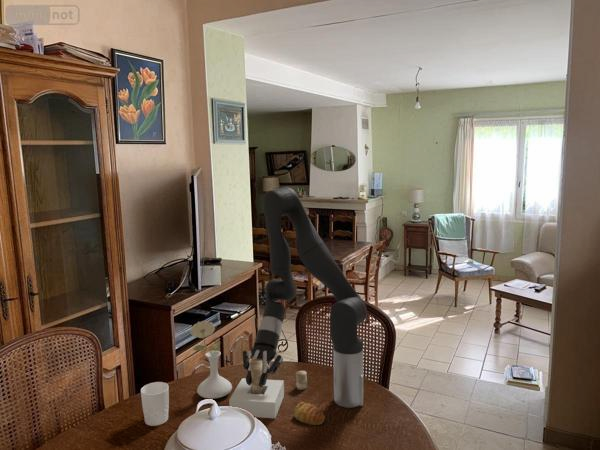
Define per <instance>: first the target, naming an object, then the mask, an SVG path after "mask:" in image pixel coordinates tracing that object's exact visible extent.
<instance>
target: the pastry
mask: <svg viewBox="0 0 600 450" xmlns="http://www.w3.org/2000/svg"><path fill="white" fill-rule="evenodd" d="M293 416H294V418H295V419H296V420H297V421H299V422H301V423H302V424H303V423H304V424H306V425H307V424H308V425H311V426H320V425H322V424H323V423H324V422H325V420H326V416H325V414H324V413H323V411H322V410H321V409H320V408H318V407H317V406H316V405H315V404H311V403H310V402H308V403H306V402H305V401H300V402H299V403H297V405H296V406H295V407H294V411H293Z"/></svg>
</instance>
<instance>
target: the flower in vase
mask: <svg viewBox="0 0 600 450" xmlns="http://www.w3.org/2000/svg"><path fill="white" fill-rule="evenodd" d="M214 331H216V327H215V326H214V323H213V322H212V321H211V322H209V321H208V320H205V321H204V320H202V321H197V323H195V324H193V325H192V327H191V329H190V330H189V332H190V335H191V336H192V337H195V338H196V339H197V338H199V339H203V345H202V344H198V345H196V346H195V347H193V348H192V351H203V350H205V348H206V350H207V351H208V352H205V354H204V355H205V357H206V358H207V360H208V362H209V367H210V372H209V376H208V377H207V378H206V379H204V380H203V381H202V382H200V384H199V385H198V387H197V390H196V392H197V395H198V396H200V397H202V398H204V399H213V400H214V399H219V398H223V397H225V396H227V395H228V394H230V393H231V392H232V390H233V385H232V383H231V382H230V381H229V380H228V379H226V378H224V377H223V376H221V375H219V371H218V361H219V358H220V356H221V354H222V353H221V351H219V350H217V349H218V348H219V346H220V345H221V341H219V342H217V343H214V344H212V346H211V347H210V348H208V346H207V345H206V342H205V341H206V340H205V338H207V337H209V336H211V335H213V333H214Z"/></svg>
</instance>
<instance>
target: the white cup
mask: <svg viewBox="0 0 600 450" xmlns="http://www.w3.org/2000/svg"><path fill="white" fill-rule="evenodd" d="M169 391H170V389H169V384H168V383H167V382H163V381H155V382H150V383H148V384H147V383H146V384H145V385H144V386H143V387H141V388H140V395H141V397H140V398H141V404H142V405H141V406H142V412H143V416H144V418H143V419H144V423H145V424H146V425H147V426H151V427H157V426H160V425H163V424H164V423H166V422H167V421H168V420H169V410H170V407H169V406H170V392H169Z"/></svg>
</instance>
